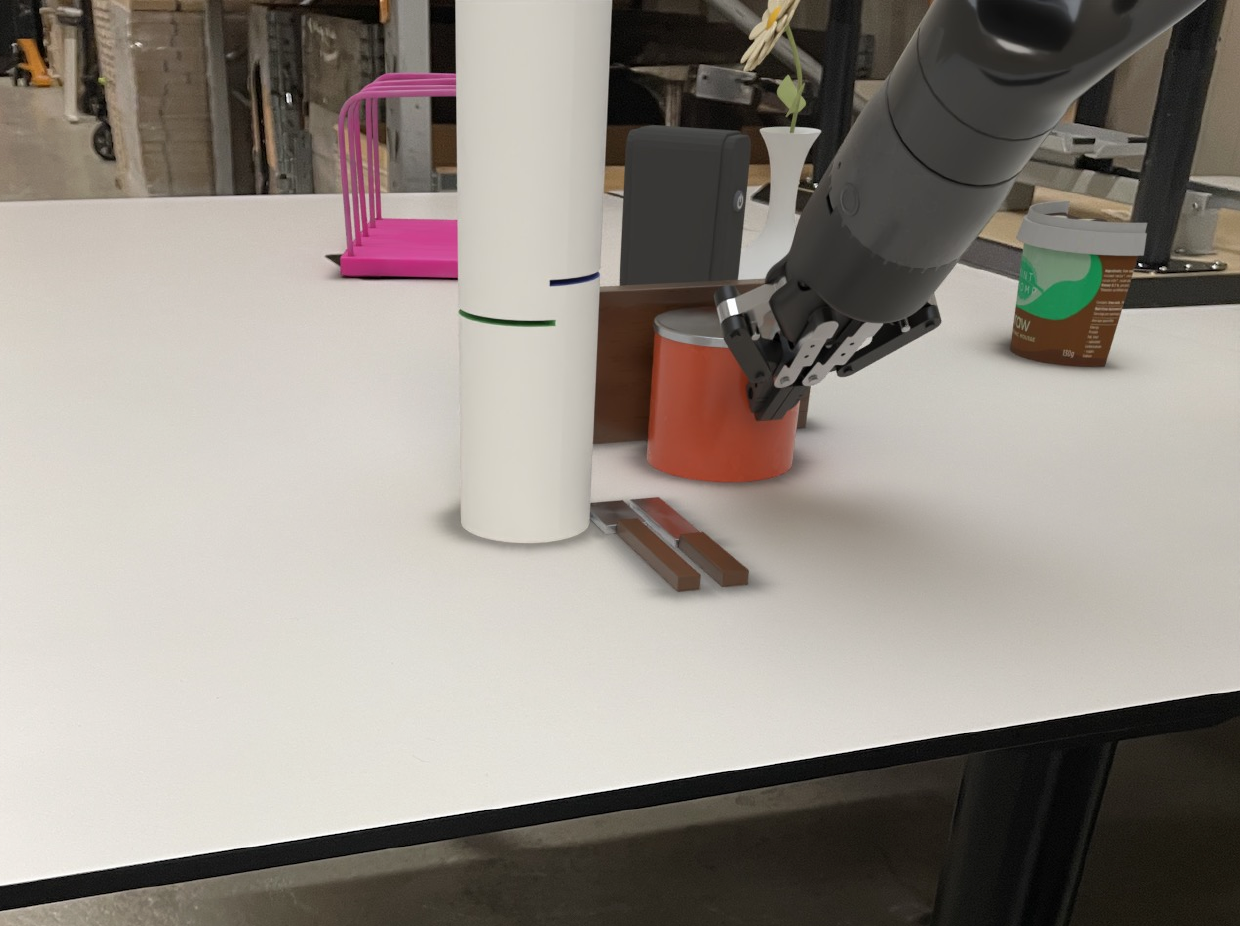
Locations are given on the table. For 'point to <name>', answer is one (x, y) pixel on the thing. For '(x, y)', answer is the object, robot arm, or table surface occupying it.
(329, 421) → the table surface
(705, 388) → the tin can
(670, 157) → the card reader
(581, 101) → the cylindrical container
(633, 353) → the wooden board
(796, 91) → the flower in vase
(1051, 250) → the food container
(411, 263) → the file sorter
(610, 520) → the cutlery
